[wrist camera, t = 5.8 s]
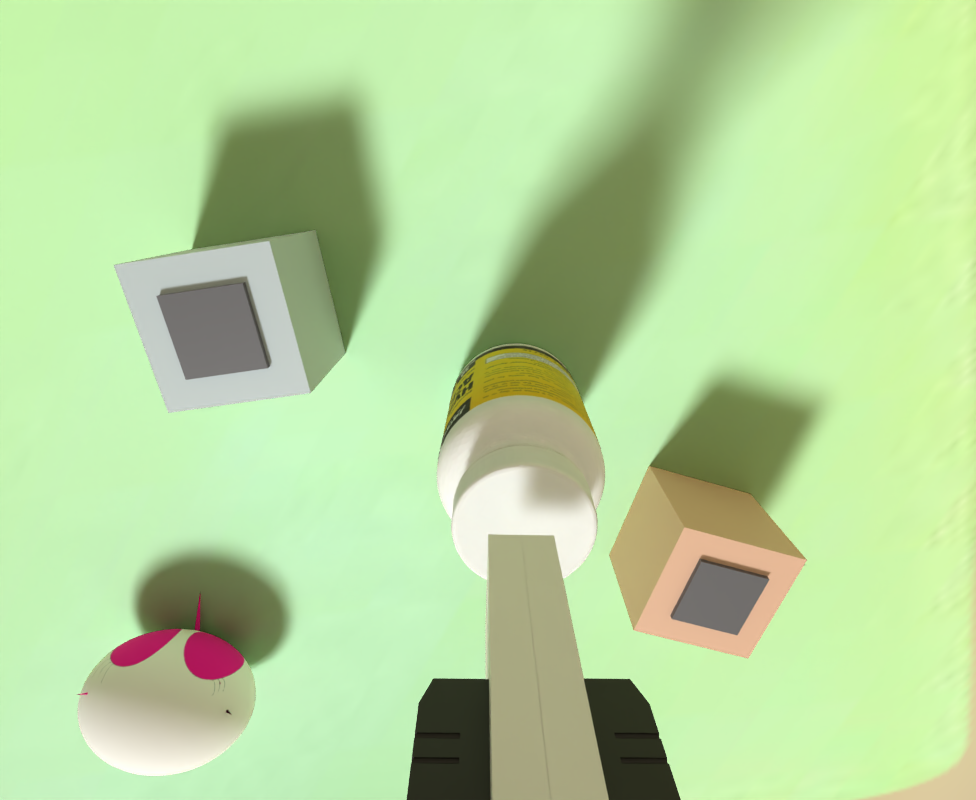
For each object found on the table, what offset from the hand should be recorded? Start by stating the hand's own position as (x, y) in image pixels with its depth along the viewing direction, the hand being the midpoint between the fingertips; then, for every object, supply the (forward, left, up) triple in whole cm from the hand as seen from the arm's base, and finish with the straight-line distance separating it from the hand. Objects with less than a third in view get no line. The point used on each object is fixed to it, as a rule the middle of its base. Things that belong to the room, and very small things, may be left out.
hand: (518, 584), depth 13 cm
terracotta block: (+8, -6, -12) cm, 16 cm away
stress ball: (-15, -14, -12) cm, 24 cm away
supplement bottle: (0, 0, -12) cm, 12 cm away
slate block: (-10, +4, -12) cm, 16 cm away
